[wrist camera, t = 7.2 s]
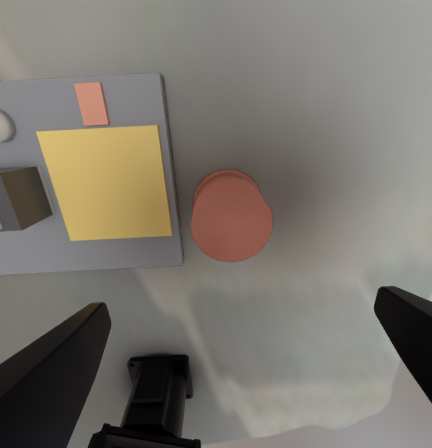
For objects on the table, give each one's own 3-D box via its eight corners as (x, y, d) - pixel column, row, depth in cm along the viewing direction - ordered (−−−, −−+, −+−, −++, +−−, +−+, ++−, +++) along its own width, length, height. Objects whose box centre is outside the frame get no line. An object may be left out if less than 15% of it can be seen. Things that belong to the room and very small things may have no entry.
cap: (259, 231, 20) (274, 262, 15) (196, 234, 20) (191, 266, 15) (261, 167, 18) (278, 179, 13) (190, 171, 18) (182, 184, 13)
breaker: (52, 214, 17) (13, 235, 14) (13, 216, 17) (-36, 237, 14) (36, 166, 16) (-12, 175, 13) (-7, 168, 16) (-66, 178, 13)
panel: (184, 259, 20) (181, 270, 19) (-28, 270, 21) (-49, 282, 19) (162, 76, 15) (156, 69, 14) (-121, 91, 15) (-162, 86, 14)
